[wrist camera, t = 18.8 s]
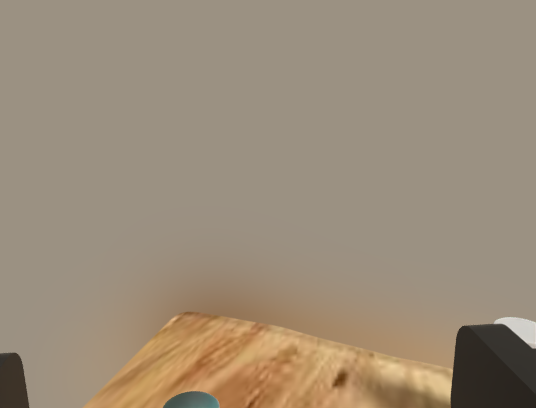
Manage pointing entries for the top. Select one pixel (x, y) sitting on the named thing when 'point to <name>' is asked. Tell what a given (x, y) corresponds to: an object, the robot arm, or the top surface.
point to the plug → (192, 400)
